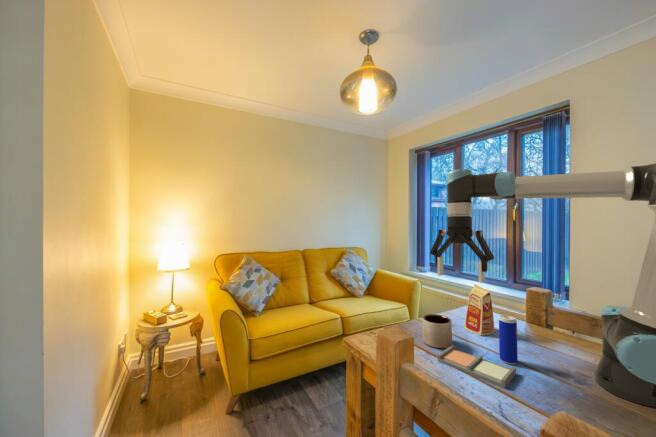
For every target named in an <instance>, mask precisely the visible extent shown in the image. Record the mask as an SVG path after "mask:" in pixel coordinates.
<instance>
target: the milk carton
mask: <svg viewBox="0 0 656 437" xmlns="http://www.w3.org/2000/svg"><path fill="white" fill-rule="evenodd" d="M473 285H474V287H473V288H472V289H471V290H470V291H469V292H470V293H469V296H468V300H467V306H466V312H465V317H464V318H465V319H464V326H463V329H464V330H466V331H468V332H471V333H472V334H473V333H474V334H476V335H479V336H487V335H492V334H493V333H494V332H495V320H494V312H493V311H494V308H493V303H492V295H491V292H492V291H491V290H489V289H486V288H483V287H482V286H480V285H478V284H476V283H473Z"/></svg>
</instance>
